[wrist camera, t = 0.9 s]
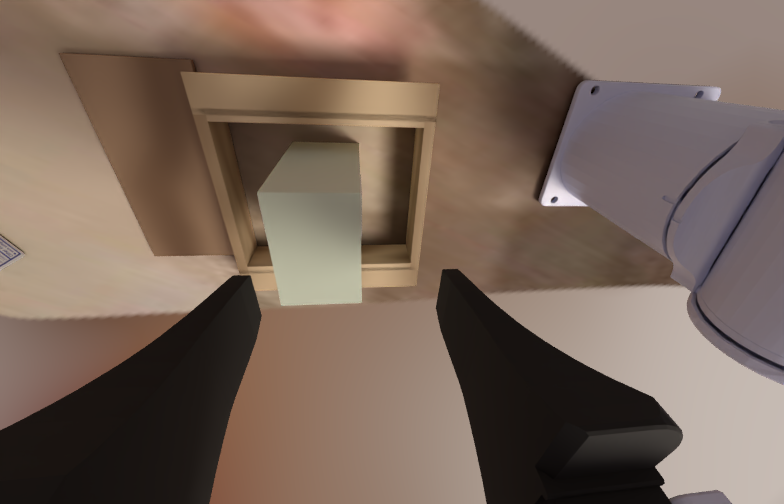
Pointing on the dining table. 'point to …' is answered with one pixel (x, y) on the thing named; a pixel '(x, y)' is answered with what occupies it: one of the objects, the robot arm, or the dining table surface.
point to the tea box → (315, 223)
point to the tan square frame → (317, 107)
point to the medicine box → (8, 253)
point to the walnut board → (153, 148)
